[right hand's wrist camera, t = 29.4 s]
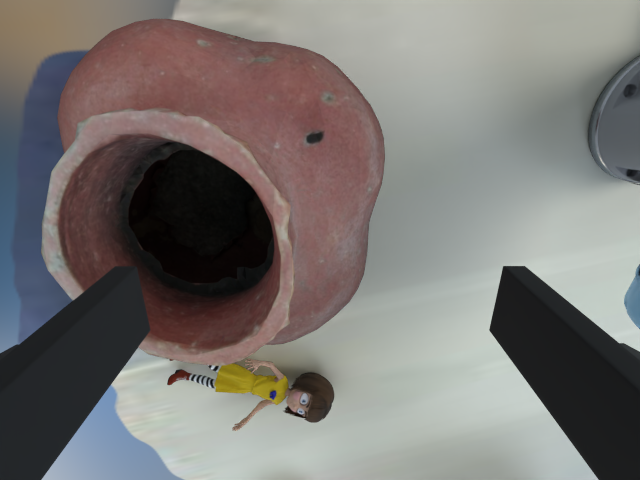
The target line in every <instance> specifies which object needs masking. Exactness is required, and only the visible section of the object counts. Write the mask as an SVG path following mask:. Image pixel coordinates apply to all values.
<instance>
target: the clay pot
mask: <svg viewBox="0 0 640 480" xmlns="http://www.w3.org/2000/svg"><path fill="white" fill-rule="evenodd" d="M57 119H58V124H59V129H60V135H61V140H62V145H63V150H64V155H63V156H62V158H61V159H60V160H59V162H58V163H57V165H56V166H55V167H54V169H53V170H52V172H51V178H50V184H49V190H48V196H47V201H46V207H45V212H44V216H43V220H42V248H41V254H42V256H43V259H44V261H45V264H46V266H47V269H48V271H49V272H50V273H51V274H52V276H53V277H54V278H55V279H56V281H57V282H58V283H59V284H60V286H61V287H62V288H63V289H64V290H65V292H66V293H67V294H68V295H69V297H70V298H71V299H72V300H75V299H76V298H77V297H78V296H79V295H81V294H82V293H83V292H84V291H86V290H87V289H88V288H89V287H90V286H92V285H93V284H94V283H95V282H97V281H98V280H99V279H100V278H101V277H103V276H104V275H105V274H106V273H108V272H109V271H110V270H111V269H112V268H114V267H115V266H137V270H138V275H139V279H140V284H141V289H142V293H143V298H144V302H145V307H146V311H147V316H148V321H149V325H150V332H149V333H148V334H147V336H146V337H145V339H144V340H143V341H142V343H141V344H140V345H139V348H140V349H142V350H143V351H145V352H146V353H147V354H150V355H154V356H158V357H162V358H167V359H173V360H178V361H183V362H188V363H195V364H204V365H213V366H222V365H229V364H232V363H235V362H238V361H241V360H243V359H245V358H247V357H248V356H250V355H252V354H253V353H255V352H256V351H257V350H258V349H259V348H260V347H262V346H263V345H274V344H283V343H287V342H290V341H293V340H296V339H298V338H300V337H302V336H304V335H306V334H308V333H310V332H312V331H315V330H317V329H318V328H319V327H321V326H322V325H323V324H325V323H326V322H327V321H329V320H330V319H331V318H332V317H334V316H335V315H336V314H337V313H338V312H339V311H340V310H341V309H342V308H343V307H344V306H345V305H346V304H347V303H348V302H349V301H350V300H351V298H352V297H353V295H354V294H355V292H356V291H357V289H358V287H359V284H360V282H361V280H362V277H363V275H364V270H365V263H366V256H367V246H368V230H369V221H370V217H371V214H372V211H373V208H374V205H375V202H376V199H377V196H378V193H379V190H380V187H381V184H382V178H383V171H384V160H385V151H384V138H383V134H382V130H381V127H380V124H379V121H378V119H377V117H376V115H375V113H374V111H373V109H372V107H371V105H370V104H369V103H368V101H367V100H366V99H365V98H364V96H363V95H362V94H361V92H360V91H359V89H358V88H357V87H356V86H355V85H354V84H353V83H352V82H351V81H350V79H349V78H348V77H347V76H346V75H345V74H344V73H343V72H342V71H341V70H340V69H339V68H338V67H337V66H336V65H335V64H333V63H332V62H331V61H329V60H328V59H327V58H325V57H324V56H322V55H320V54H317V53H315V52H313V51H310V50H308V49H304V48H300V47H296V46H291V45H286V44H280V43H275V42H254V41H251V40H247V39H244V38H240V37H237V36H233V35H229V34H226V33H222V32H218V31H215V30H211V29H208V28H204V27H200V26H197V25H194V24H191V23H187V22H184V21H178V20H170V19H150V20H144V21H139V22H134V23H132V24H129V25H127V26H124V27H121V28H119V29H117V30H114V31H112V32H110V33H109V34H108V35H107V36H105V37H104V38H103V39H102V40H101V41H99V42H98V43H97V44H96V45H95V46H94V47H93V48H92V49H91V50H90V51H89V52H88V53H87V54H86V55H85V56H84V57H83V59H82V60H81V61H80V62H79V63H78V65H77V66H76V67H75V68H74V70H73V71H72V73H71V74H70V76H69V78H68V80H67V82H66V85H65V87H64V89H63V92H62V94H61V98H60V104H59V111H58V117H57Z"/></svg>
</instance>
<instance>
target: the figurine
mask: <svg viewBox="0 0 640 480" xmlns="http://www.w3.org/2000/svg"><path fill="white" fill-rule="evenodd" d="M172 360H173V359H170V361H172ZM247 360H251V361H245V362H251V363H249V364H245V366H247V365H252V366H251V367H249V368H247V369H246V368H244V367H242V366H239V365H237V364H234V363H232V364H229V365H222V366H213V365H208V366H209V368H210V369H212V370H214V371H215V372H218V375H217V378H216V380H214V379H211V378H209V377H207V376H203V375H194V374H191V373H187V372H186V371H184V370H176V372H175V374H173V375H171V376H170V377H169V379H168V383H167V385H171V384H172V383H174V382H176V381H178V380H185V381H186V380H191V381H194V382H197V383H200V384H202V385H205V386H207V387H209V388H215V389H216V392H228V393H248V392H252V394H253V395H259V396H260V397H262V398H264V399H266V400H263V401H261V402H260V403H259V404H258V405H257V406H256V408H255V409H254V410H253V411H252V412H251V413H250V414H249V415H248V416H247V417H246V418H244V419H243V420H242V421H241V422H240V423H238V424H235V425H237V426H235V427H233V428H232V429H233V430H235V431H236V430H239V429H240V428H241V427H243V426H244V425H245V424H246V423H247V422H248V421H249V420H250V418H251V417H252V416H253V415H255V414H256V413H257V412H258V411H259V410H261V409H262V408H264V407H265V406H267V405H270V404H276V405H278V404H279V403H281V402H282V401H283V400H284V399H285V397H286V396H289V397H288V398H287V404H288V406H287V408H285V409H286V412H285V410H283V412H285V413H289V414H290V415H291V414H292V415H294V414H295V415H294V416H297V417H301V418H305V419H304V420H307V421H309V422H312V423H313V422H319V421H320V420H321V419H322V418H323V419H324V418H325V417H326V415H327V414H328V413H329V411H330V409H331V405H332V402H333V400H334V390H333V387H332V385H331V384H330V382H329V381H328V380H327V379H326V378H324V377H323V376H321V375H319V374H316V373H304V375H303V374H302V375H301V376H299V377H298V378H297V379H296V381H294V384H293V385H292V386H293V388H292V389H290V388H289V385H288V380H287V378H286V376H285V375H283V374H282V373H281V372H280V371H279V370H278V369H277V368H276V366H275V365H274V364H273V363H272V362H268V361H258V360H252V359H247ZM260 365H262V366H266V367H269V368H270V369H271V370H272V371H273V372H274V373H275V375H276V376H271V375H268V376H262V375H258V376H257V375H254V374H253V372H254V371H255V370H257V369H258V367H259V366H260ZM251 368H254V370H253V371H252V372H251V371H249V369H251ZM299 378H300V379H299Z"/></svg>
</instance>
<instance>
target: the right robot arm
mask: <svg viewBox="0 0 640 480" xmlns="http://www.w3.org/2000/svg"><path fill="white" fill-rule="evenodd" d="M589 145H590V149H591V153H592V155H593V157H594V159H595V161H596V163H597V164H598V165H599V166H600V167H601V169H602V170H604V171H605V172H606V173H608V174H609V175H611V176H613V177H616V178H619V179H622V180H626V181H630V182H635V183H640V56H638V57H637V58H635V59H634V60H632V61H631V62H629V63H628V64H627V65H626V66H625V67H623V68H622V69H621V70H620V71H619V72H618V73H617V74H616V75H615V76H614V77H613V78H612V80H611V81H610V82H609V83H608V85H607V86H606V87H605V89H604V90H603V92H602V93H601V95H600V97H599V99H598V101H597V103H596V105H595V107H594V110H593V113H592V116H591V120H590V125H589ZM630 182H629V183H630ZM635 183H633V184H635ZM637 185H640V184H637ZM624 304H625V307H626V309H627V313H628V315H629V317H630V318H631V320H632V321H633V322H634V323H635V325H636V326H637V327H638V328H639V329H640V265H639V266H638V267H637V269H636V276H635V278H634V280H633V282H632V284H631V285H630V287H629V289H628V291H627V293H626V295H625V298H624ZM149 332H150V325H149V321H148V316H147V311H146V307H145V302H144V298H143V293H142V289H141V284H140V279H139V275H138V270H137V266H115V267H114V268H112V269H111V270H110V271H109V272H108V273H106V274H105V275H104V276H103V277H101V278H100V279H99V280H98V281H97V282H95V283H94V284H93V285H92V286H90V287H89V288H88V289H87V290H86V291H84V292H83V293H82V294H81V295H79V296H78V297H77V298H76V299H75V300H73V301H72V302H71V303H70V304H68V305H67V306H66V307H65V308H64V309H62V310H61V311H60V312H59V313H57V314H56V315H55V316H54V317H53V318H51V319H50V320H49V321H48V322H46V323H45V324H44V325H43V326H42V327H40V328H39V329H38V330H37V331H35V332H34V333H33V334H32V335H30V336H29V337H28V338H27V339H26V340H24V341H23V342H22V343H21V344H19V345H15V346H13V347H11V348H9V349H8V350H6V351H4V352H2V353H0V480H41V479H42V478H43V476H44V475H45V474H46V472H47V471H48V470H49V468H50V467H51V466H52V464H53V463H54V461H55V460H56V459H57V457H58V456H59V455H60V453H61V452H62V451H63V449H64V448H65V446H66V445H67V444H68V442H69V441H70V440H71V438H72V437H73V436H74V434H75V433H76V431H77V430H78V429H79V427H80V426H81V425H82V423H83V422H84V421H85V419H86V418H87V416H88V415H89V414H90V412H91V411H92V410H93V408H94V407H95V405H96V404H97V403H98V401H99V400H100V399H101V397H102V396H103V395H104V393H105V392H106V390H107V389H108V388H109V386H110V385H111V384H112V382H113V381H114V380H115V378H116V377H117V375H118V374H119V373H120V371H121V370H122V369H123V367H124V366H125V365H126V363H127V362H128V360H129V359H130V358H131V356H132V355H133V354H134V352H135V351H136V349H137V348H138V347H139V345H140V344H141V343H142V341H143V340H144V339H145V337H146V336H147V334H148V333H149ZM490 332H491V333H492V334H493V336H494V337H495V339H496V340H497V341H498V343H499V344H500V345H501V347H502V348H503V349H504V351H505V352H506V354H507V355H508V356H509V358H510V359H511V360H512V362H513V363H514V365H515V366H516V367H517V369H518V370H519V371H520V373H521V374H522V375H523V377H524V378H525V380H526V381H527V382H528V384H529V385H530V386H531V388H532V389H533V390H534V392H535V393H536V395H537V396H538V397H539V399H540V400H541V401H542V403H543V404H544V406H545V407H546V408H547V410H548V411H549V412H550V414H551V415H552V416H553V418H554V419H555V421H556V422H557V423H558V425H559V426H560V427H561V429H562V430H563V431H564V433H565V434H566V436H567V437H568V438H569V440H570V441H571V442H572V444H573V445H574V446H575V448H576V449H577V451H578V452H579V453H580V455H581V456H582V457H583V459H584V460H585V462H586V463H587V464H588V466H589V467H590V468H591V470H592V471H593V472H594V474H595V475H596V477H597V478H598V479H599V480H640V352H639V351H637V350H635V349H633V348H631V347H630V346H628V345H626V344H624V343H618V342H617V341H616V340H614V339H613V338H612V337H611V336H610V335H608V334H607V333H606V332H605V331H603V330H602V329H601V328H600V327H598V326H597V325H596V324H595V323H594V322H592V321H591V320H590V319H589V318H587V317H586V316H585V315H584V314H583V313H581V312H580V311H579V310H578V309H576V308H575V307H574V306H573V305H572V304H570V303H569V302H568V301H567V300H565V299H564V298H563V297H562V296H561V295H559V294H558V293H557V292H556V291H554V290H553V289H552V288H551V287H550V286H548V285H547V284H546V283H545V282H543V281H542V280H541V279H540V278H539V277H537V276H536V275H535V274H534V273H532V272H531V271H530V270H529V269H528V268H526V267H525V266H503V270H502V275H501V279H500V284H499V289H498V293H497V298H496V302H495V307H494V311H493V316H492V321H491V325H490Z"/></svg>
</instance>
